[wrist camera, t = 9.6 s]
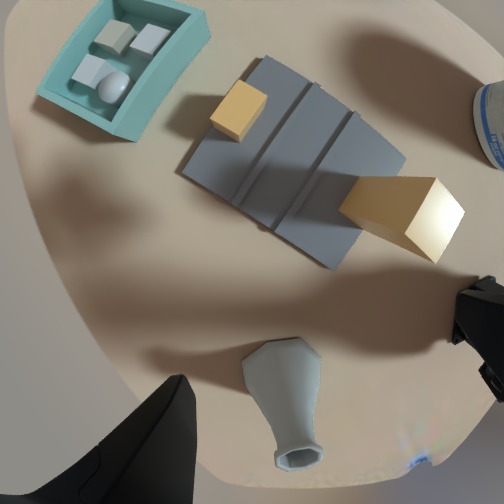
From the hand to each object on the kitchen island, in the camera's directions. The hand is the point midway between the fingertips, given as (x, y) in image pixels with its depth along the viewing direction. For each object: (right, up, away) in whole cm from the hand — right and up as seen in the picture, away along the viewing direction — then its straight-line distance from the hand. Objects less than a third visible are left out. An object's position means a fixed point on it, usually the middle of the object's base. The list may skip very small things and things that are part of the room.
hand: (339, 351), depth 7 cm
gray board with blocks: (+1, +9, +12) cm, 15 cm away
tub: (-12, +17, +9) cm, 23 cm away
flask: (0, -8, +16) cm, 18 cm away
